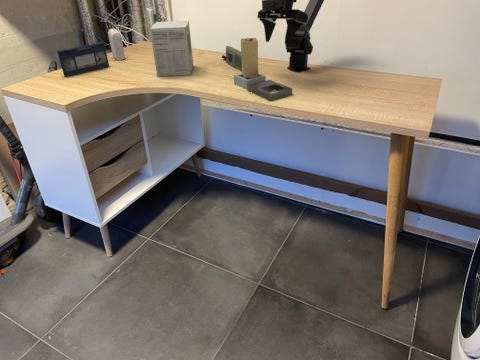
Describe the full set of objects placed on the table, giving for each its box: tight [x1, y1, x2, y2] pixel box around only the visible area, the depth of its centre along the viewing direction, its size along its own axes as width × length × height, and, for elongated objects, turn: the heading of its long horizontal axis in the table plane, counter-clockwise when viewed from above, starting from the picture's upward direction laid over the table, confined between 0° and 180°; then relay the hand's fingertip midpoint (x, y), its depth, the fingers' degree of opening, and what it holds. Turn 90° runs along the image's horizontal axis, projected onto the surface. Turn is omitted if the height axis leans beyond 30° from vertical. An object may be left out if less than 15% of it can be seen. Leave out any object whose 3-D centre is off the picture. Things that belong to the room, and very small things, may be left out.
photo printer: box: [107, 28, 126, 61], centre depth 167 cm, size 10×4×12 cm, turn 28°
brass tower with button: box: [240, 37, 259, 78], centre depth 128 cm, size 5×5×12 cm
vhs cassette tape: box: [56, 41, 110, 78], centre depth 151 cm, size 18×3×10 cm, turn 129°
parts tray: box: [233, 72, 267, 90], centre depth 132 cm, size 8×8×3 cm
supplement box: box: [149, 20, 194, 77], centre depth 145 cm, size 13×13×18 cm
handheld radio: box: [221, 45, 242, 72], centre depth 151 cm, size 7×3×25 cm
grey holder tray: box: [247, 79, 293, 102], centre depth 124 cm, size 12×9×2 cm
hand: (276, 42), depth 128 cm, fingers open, 9 cm apart
